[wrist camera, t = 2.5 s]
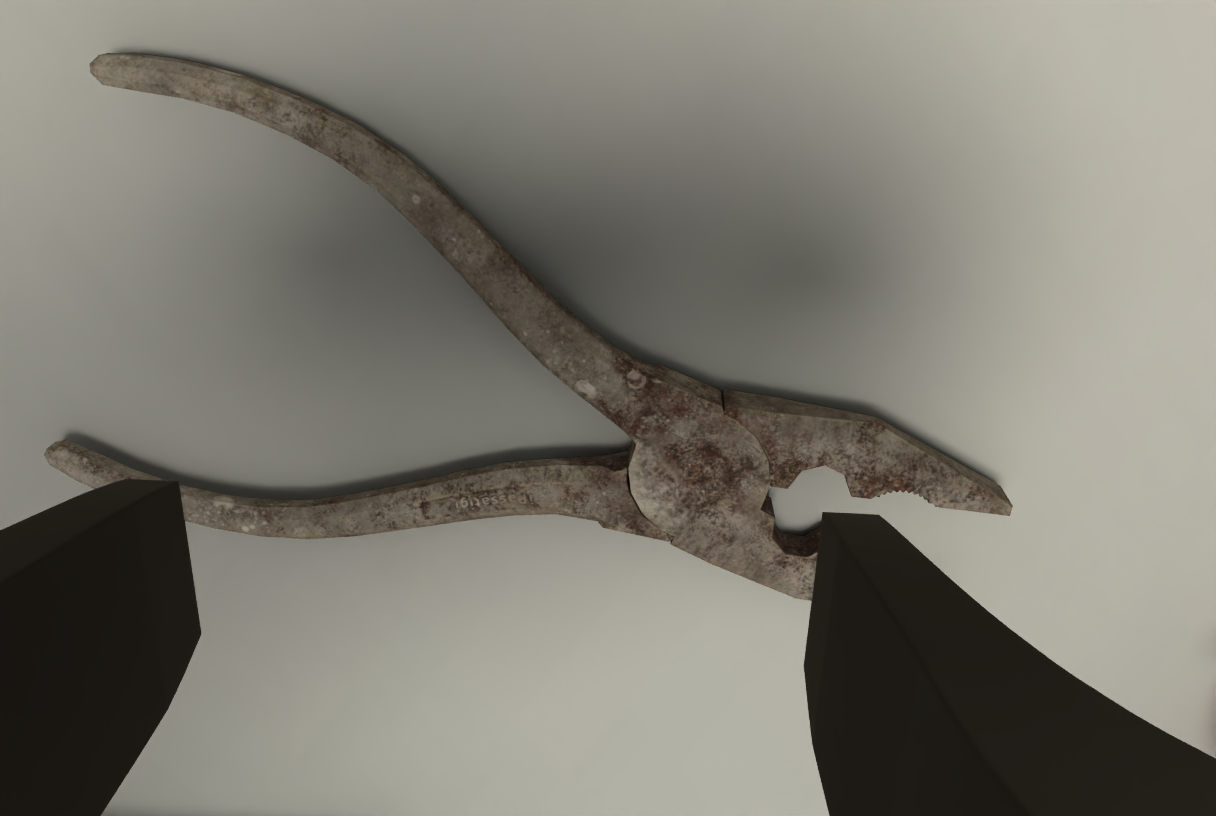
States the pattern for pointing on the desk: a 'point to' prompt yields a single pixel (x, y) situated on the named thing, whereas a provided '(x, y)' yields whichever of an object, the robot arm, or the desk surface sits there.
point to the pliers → (597, 371)
